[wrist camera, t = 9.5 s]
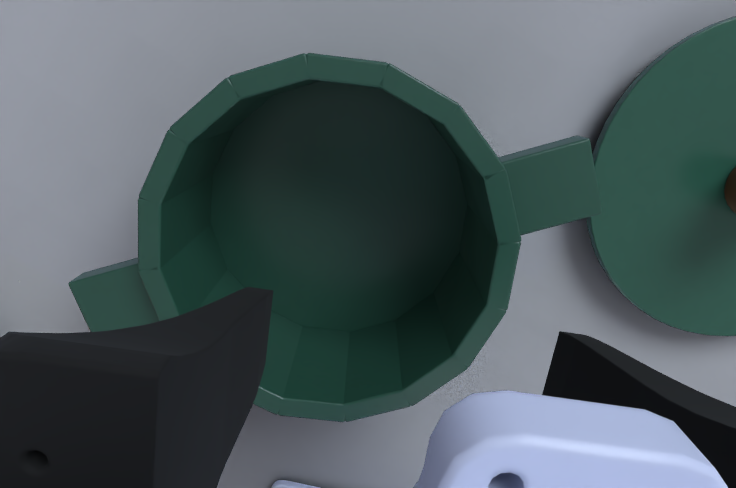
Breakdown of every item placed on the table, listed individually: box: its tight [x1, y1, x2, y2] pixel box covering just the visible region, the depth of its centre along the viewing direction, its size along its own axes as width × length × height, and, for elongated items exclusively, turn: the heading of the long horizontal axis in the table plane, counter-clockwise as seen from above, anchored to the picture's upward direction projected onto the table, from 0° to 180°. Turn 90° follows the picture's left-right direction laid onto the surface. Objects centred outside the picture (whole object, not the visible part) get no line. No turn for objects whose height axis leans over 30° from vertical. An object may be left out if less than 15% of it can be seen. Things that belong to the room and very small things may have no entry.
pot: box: [69, 53, 602, 422], centre depth 19 cm, size 11×17×6 cm
